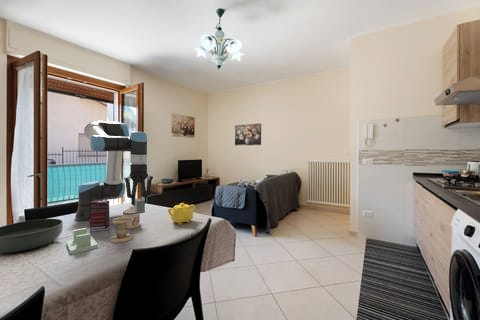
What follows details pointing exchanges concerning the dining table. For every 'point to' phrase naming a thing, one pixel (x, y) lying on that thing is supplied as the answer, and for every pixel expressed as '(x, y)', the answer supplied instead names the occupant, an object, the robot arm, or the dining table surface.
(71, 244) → the notch board
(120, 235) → the bobbin
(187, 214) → the teapot
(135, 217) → the teacup with lid
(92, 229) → the supplement box
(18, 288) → the dining table surface
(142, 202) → the lead tab
